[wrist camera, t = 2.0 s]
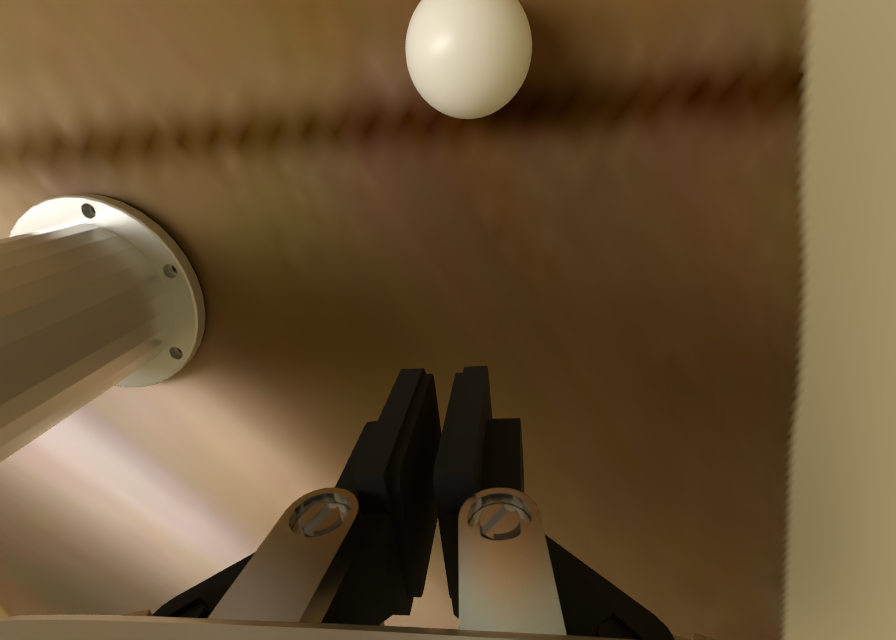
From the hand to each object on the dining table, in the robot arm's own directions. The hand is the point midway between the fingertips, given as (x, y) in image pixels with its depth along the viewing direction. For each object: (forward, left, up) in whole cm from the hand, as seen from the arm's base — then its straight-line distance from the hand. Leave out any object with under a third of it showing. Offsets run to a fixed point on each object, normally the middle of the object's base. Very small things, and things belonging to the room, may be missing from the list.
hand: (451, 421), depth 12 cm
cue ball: (+3, +9, -14) cm, 17 cm away
